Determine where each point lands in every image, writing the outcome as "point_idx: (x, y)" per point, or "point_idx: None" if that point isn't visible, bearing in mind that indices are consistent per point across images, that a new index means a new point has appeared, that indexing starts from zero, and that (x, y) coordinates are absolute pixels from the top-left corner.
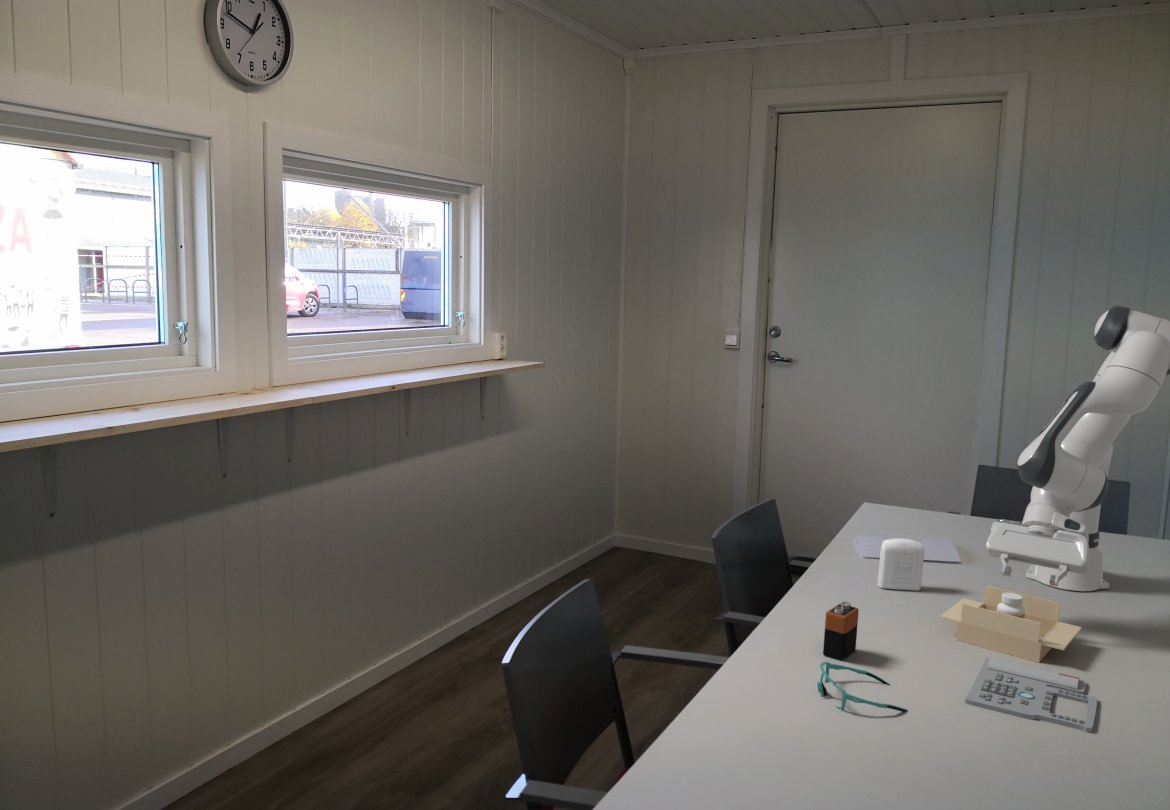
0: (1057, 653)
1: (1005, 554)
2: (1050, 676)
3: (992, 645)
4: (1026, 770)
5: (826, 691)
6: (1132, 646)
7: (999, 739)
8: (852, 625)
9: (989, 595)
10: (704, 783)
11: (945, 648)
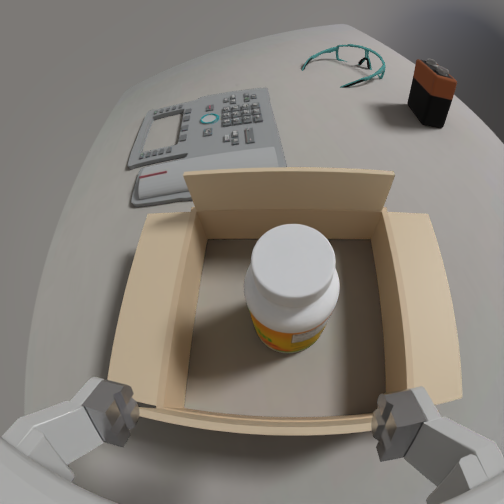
0: None
1: (483, 475)
2: (179, 162)
3: None
4: (201, 66)
5: (359, 61)
6: None
7: (223, 74)
8: (422, 81)
9: None
10: (332, 28)
11: None
